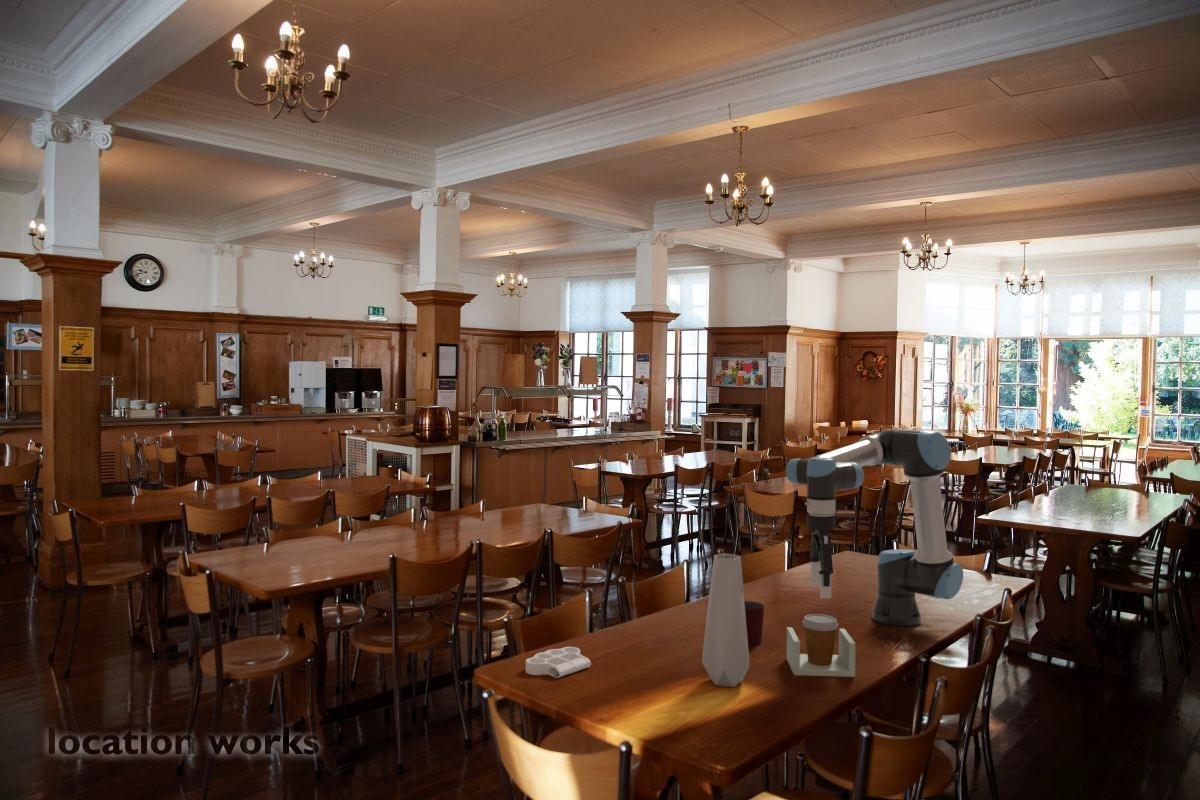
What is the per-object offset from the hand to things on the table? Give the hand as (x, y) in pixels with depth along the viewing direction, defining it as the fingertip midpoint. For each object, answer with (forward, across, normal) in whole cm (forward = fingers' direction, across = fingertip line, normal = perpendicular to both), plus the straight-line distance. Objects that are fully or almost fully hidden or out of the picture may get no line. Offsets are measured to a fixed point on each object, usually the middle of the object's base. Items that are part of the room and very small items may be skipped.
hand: (820, 591), depth 224 cm
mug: (+21, -20, -18) cm, 35 cm away
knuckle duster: (+21, +6, -72) cm, 75 cm away
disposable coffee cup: (+20, 0, 0) cm, 20 cm away
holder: (+21, 0, 0) cm, 21 cm away
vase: (+21, +14, -26) cm, 36 cm away
